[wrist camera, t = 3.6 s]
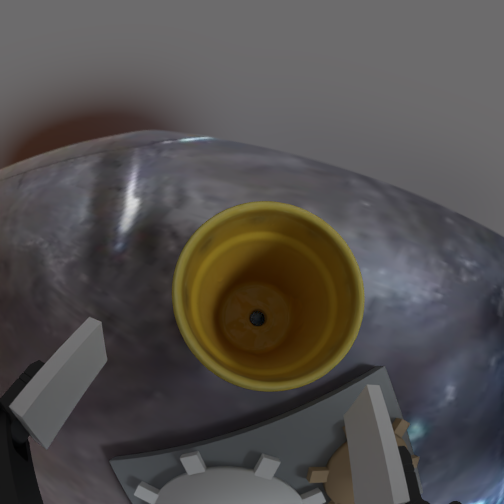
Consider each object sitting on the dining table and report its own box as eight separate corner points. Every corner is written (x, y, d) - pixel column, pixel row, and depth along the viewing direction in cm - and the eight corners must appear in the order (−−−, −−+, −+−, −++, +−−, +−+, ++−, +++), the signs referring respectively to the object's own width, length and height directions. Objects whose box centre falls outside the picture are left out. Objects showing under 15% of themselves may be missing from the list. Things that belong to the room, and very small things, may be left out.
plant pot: (336, 303, 23) (393, 265, 14) (271, 402, 20) (300, 429, 11) (242, 239, 25) (249, 170, 16) (170, 329, 21) (129, 305, 12)
